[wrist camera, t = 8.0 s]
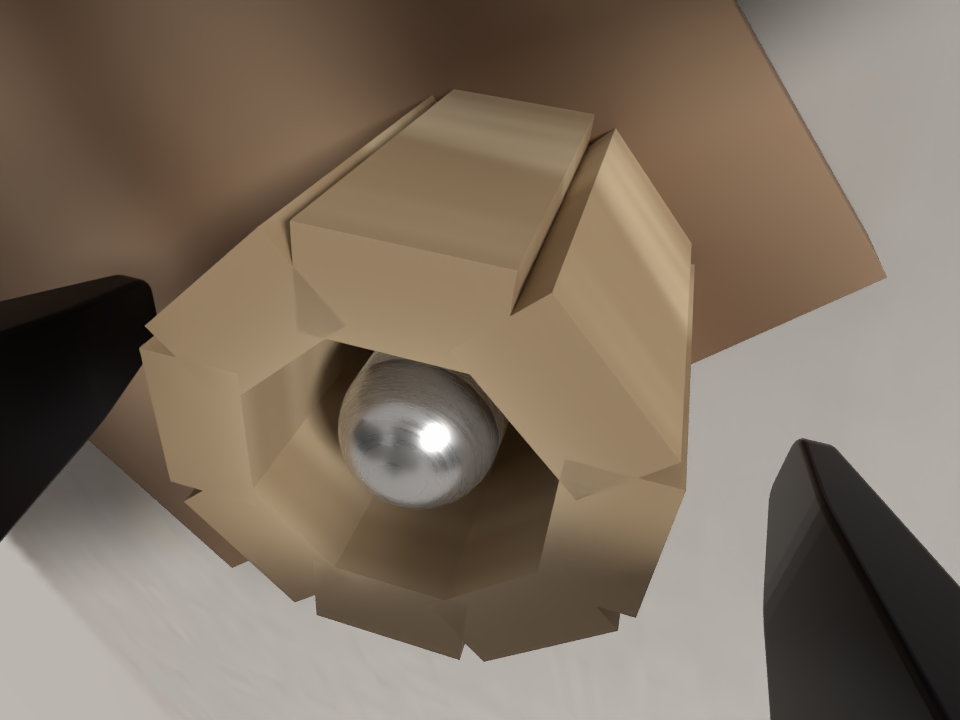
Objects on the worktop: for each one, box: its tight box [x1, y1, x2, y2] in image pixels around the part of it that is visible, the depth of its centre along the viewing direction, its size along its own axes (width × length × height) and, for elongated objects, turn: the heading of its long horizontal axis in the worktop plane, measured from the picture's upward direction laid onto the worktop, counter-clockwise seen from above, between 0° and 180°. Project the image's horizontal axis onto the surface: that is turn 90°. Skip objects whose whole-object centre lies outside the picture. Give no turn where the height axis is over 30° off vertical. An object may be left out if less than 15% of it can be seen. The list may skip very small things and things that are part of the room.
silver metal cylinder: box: [338, 351, 509, 509], centre depth 10 cm, size 2×2×5 cm
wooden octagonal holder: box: [139, 89, 695, 662], centre depth 10 cm, size 6×6×5 cm
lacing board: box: [0, 0, 887, 568], centre depth 13 cm, size 17×14×2 cm
